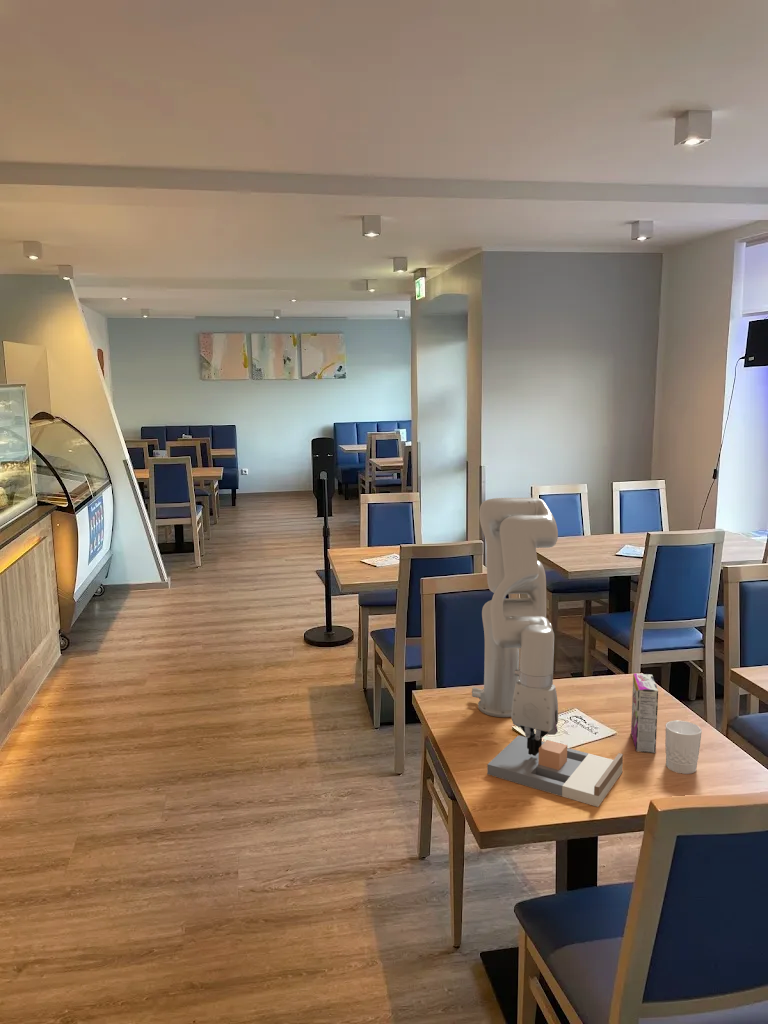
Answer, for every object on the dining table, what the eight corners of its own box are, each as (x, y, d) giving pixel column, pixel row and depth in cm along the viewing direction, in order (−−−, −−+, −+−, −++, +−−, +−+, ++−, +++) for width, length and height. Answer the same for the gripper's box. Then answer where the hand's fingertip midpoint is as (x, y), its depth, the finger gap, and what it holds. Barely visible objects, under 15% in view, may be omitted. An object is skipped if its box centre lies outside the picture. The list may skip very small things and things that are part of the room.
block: (538, 764, 174) (538, 748, 174) (546, 755, 178) (547, 739, 178) (559, 770, 172) (559, 753, 171) (566, 761, 176) (567, 745, 175)
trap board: (487, 774, 175) (487, 756, 174) (518, 744, 190) (518, 727, 189) (598, 807, 161) (599, 787, 160) (622, 772, 176) (623, 754, 175)
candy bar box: (629, 732, 196) (632, 672, 194) (649, 734, 195) (652, 673, 193) (634, 752, 186) (638, 688, 183) (656, 754, 185) (659, 690, 182)
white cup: (658, 759, 182) (660, 720, 180) (691, 759, 182) (694, 720, 180) (670, 775, 174) (672, 734, 173) (704, 775, 174) (707, 735, 172)
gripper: (499, 677, 176) (498, 751, 178) (561, 690, 167) (558, 767, 170) (513, 667, 182) (511, 739, 184) (573, 680, 174) (570, 754, 176)
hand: (534, 752), depth 177 cm, fingers closed
